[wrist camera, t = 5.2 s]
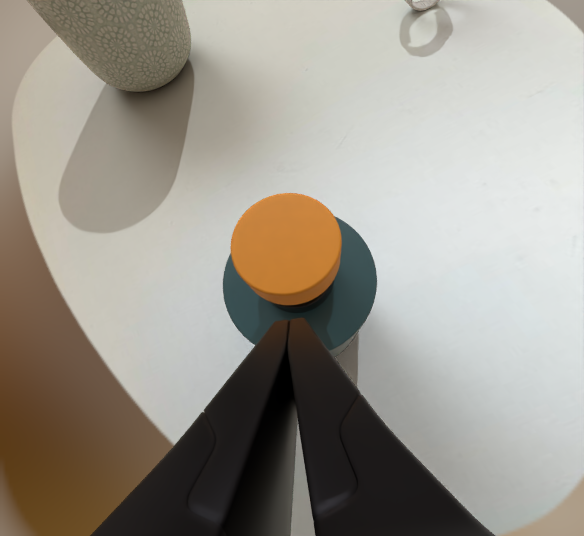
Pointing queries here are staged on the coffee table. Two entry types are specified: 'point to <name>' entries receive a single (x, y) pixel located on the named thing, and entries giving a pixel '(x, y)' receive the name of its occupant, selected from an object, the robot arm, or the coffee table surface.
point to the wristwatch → (422, 4)
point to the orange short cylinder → (287, 248)
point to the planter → (123, 38)
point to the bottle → (319, 311)
